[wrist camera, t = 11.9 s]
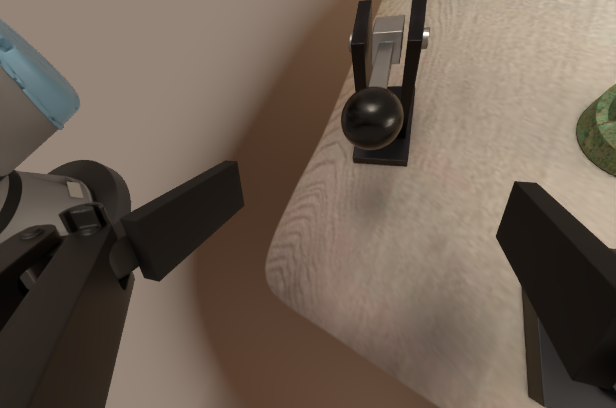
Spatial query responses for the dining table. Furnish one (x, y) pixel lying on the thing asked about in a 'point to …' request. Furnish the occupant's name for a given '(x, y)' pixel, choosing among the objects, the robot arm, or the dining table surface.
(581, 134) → the decorative artifact
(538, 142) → the dining table surface
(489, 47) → the dining table surface
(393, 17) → the lever
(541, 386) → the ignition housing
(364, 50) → the switch bracket
